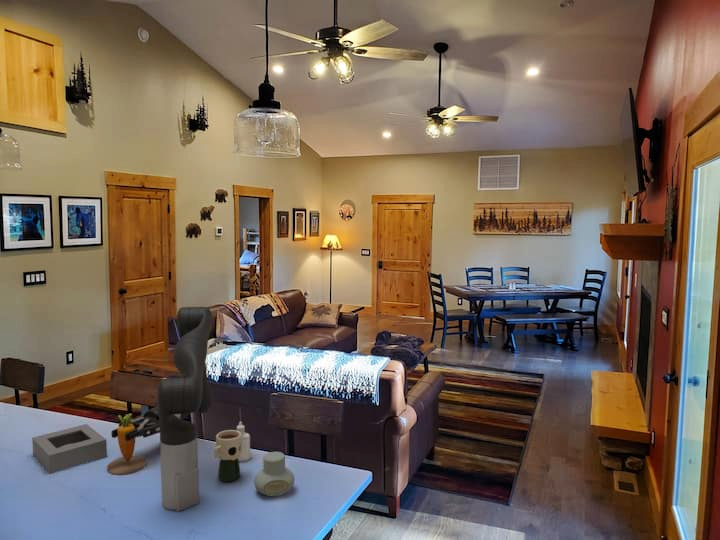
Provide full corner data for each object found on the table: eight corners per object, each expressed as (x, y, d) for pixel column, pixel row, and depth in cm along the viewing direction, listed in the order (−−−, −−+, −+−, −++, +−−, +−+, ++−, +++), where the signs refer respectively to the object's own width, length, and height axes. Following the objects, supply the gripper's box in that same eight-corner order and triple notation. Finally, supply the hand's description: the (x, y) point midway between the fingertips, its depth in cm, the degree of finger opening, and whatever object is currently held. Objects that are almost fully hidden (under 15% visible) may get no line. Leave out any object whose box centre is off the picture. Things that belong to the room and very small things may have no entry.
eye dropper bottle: (245, 463, 160) (244, 425, 159) (229, 461, 162) (228, 423, 161) (252, 457, 165) (252, 420, 164) (236, 455, 166) (236, 418, 165)
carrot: (115, 463, 157) (112, 415, 156) (129, 456, 162) (127, 409, 160) (126, 466, 155) (123, 418, 153) (140, 460, 159) (138, 412, 158)
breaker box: (107, 456, 164) (106, 439, 164) (49, 473, 153) (49, 455, 153) (87, 440, 177) (86, 424, 177) (33, 454, 166) (32, 437, 165)
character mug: (225, 489, 145) (224, 444, 144) (206, 482, 148) (205, 438, 147) (251, 473, 154) (251, 430, 153) (233, 467, 158) (232, 425, 157)
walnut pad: (153, 466, 158) (153, 463, 158) (115, 478, 150) (115, 476, 150) (138, 454, 166) (138, 452, 166) (101, 466, 158) (101, 463, 158)
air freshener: (255, 501, 139) (255, 464, 138) (253, 485, 147) (252, 451, 146) (296, 495, 142) (296, 460, 141) (292, 481, 150) (291, 447, 149)
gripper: (145, 402, 173) (101, 420, 157) (179, 408, 167) (136, 428, 152) (146, 424, 174) (102, 444, 158) (179, 431, 168) (137, 453, 152)
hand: (119, 436), depth 155 cm, fingers closed on carrot, 5 cm apart
